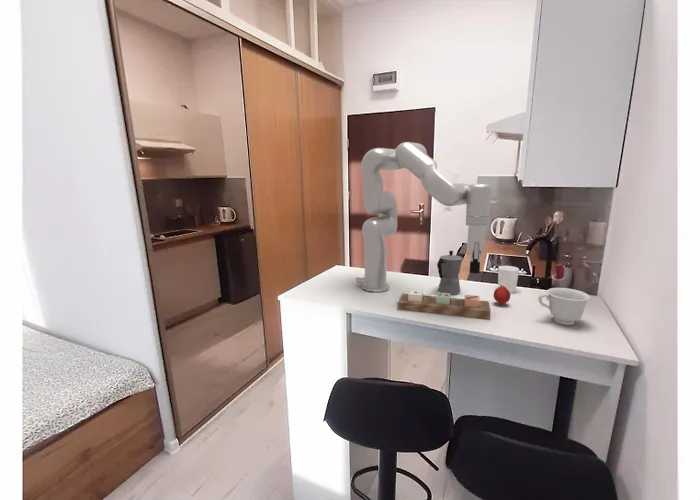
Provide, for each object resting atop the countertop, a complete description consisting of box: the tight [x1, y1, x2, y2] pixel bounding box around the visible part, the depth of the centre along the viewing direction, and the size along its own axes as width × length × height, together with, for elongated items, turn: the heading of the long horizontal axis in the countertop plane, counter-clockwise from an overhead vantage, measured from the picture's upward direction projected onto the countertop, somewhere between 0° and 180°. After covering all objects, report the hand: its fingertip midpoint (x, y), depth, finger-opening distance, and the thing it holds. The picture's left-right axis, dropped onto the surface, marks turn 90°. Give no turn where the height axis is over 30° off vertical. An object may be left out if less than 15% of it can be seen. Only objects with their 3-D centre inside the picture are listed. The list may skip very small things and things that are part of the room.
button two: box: [435, 291, 452, 305], centre depth 122 cm, size 5×5×3 cm
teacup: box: [537, 287, 591, 326], centre depth 110 cm, size 12×15×10 cm
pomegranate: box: [493, 285, 511, 306], centre depth 126 cm, size 6×6×8 cm
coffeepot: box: [436, 250, 463, 296], centre depth 139 cm, size 15×9×18 cm, turn 129°
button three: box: [463, 294, 481, 308], centre depth 119 cm, size 5×5×3 cm
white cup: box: [497, 265, 520, 294], centre depth 141 cm, size 8×8×10 cm
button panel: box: [397, 293, 492, 321], centre depth 123 cm, size 32×10×3 cm, turn 72°
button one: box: [407, 289, 424, 302], centre depth 125 cm, size 5×5×3 cm
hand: (474, 272), depth 116 cm, fingers closed
